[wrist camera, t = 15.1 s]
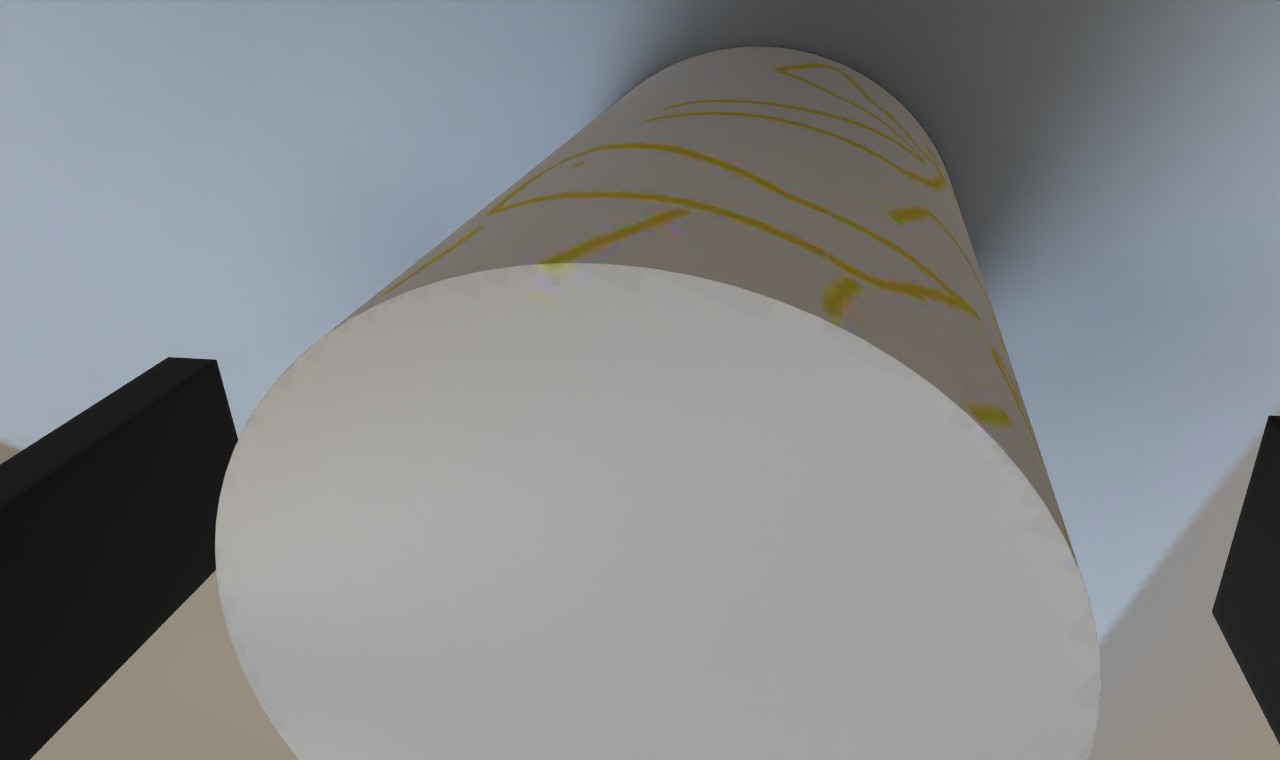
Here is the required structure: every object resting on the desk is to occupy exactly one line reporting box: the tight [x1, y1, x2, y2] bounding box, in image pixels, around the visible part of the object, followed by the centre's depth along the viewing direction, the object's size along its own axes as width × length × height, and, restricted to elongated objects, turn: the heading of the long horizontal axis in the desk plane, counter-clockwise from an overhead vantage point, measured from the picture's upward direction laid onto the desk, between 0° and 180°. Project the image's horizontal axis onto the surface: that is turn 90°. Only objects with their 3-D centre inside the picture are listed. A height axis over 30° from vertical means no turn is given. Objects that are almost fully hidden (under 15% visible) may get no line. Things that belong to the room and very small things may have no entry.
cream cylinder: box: [215, 46, 1101, 760], centre depth 14 cm, size 8×8×12 cm
